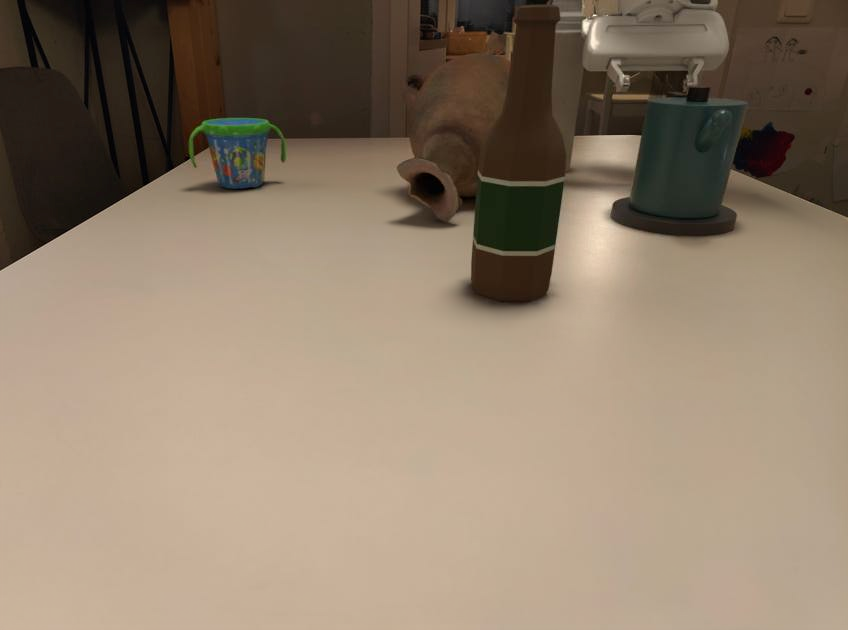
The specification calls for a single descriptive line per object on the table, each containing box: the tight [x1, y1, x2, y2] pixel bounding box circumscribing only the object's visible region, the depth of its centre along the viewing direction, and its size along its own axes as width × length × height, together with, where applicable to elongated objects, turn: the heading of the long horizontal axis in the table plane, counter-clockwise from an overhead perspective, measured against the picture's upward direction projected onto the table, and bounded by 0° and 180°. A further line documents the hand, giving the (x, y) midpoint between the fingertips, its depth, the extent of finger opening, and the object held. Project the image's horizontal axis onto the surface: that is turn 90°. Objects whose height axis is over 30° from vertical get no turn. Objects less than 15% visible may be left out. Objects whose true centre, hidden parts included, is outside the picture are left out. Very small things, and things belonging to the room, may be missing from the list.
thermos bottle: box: [551, 0, 587, 173], centre depth 106 cm, size 8×8×28 cm
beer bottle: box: [470, 4, 566, 302], centre depth 54 cm, size 8×8×24 cm
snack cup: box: [188, 117, 287, 190], centre depth 100 cm, size 16×10×10 cm
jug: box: [396, 52, 511, 223], centre depth 88 cm, size 20×20×30 cm
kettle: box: [629, 85, 749, 218], centre depth 78 cm, size 21×11×15 cm, turn 172°
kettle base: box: [610, 196, 738, 237], centre depth 81 cm, size 15×15×2 cm
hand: (656, 89), depth 90 cm, fingers open, 8 cm apart
